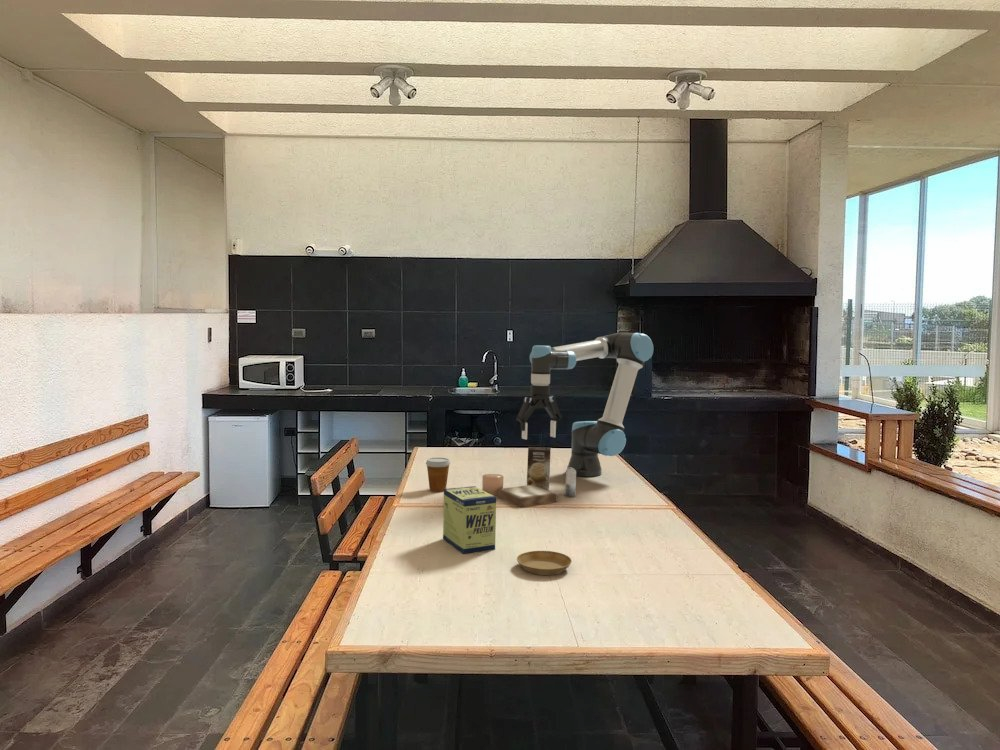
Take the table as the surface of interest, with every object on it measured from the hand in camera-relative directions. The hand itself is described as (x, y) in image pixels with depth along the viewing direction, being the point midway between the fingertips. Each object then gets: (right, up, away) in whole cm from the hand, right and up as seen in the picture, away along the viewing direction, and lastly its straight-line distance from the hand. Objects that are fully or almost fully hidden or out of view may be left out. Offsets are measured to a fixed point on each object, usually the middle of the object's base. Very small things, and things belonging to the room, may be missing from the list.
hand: (538, 438), depth 276 cm
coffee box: (0, -20, +2) cm, 20 cm away
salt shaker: (+11, -21, -10) cm, 26 cm away
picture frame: (-6, -21, -17) cm, 28 cm away
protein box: (-25, -25, -70) cm, 78 cm away
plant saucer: (-4, -27, -89) cm, 93 cm away
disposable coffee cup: (-40, -20, -5) cm, 45 cm away
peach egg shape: (-18, -21, -9) cm, 29 cm away
